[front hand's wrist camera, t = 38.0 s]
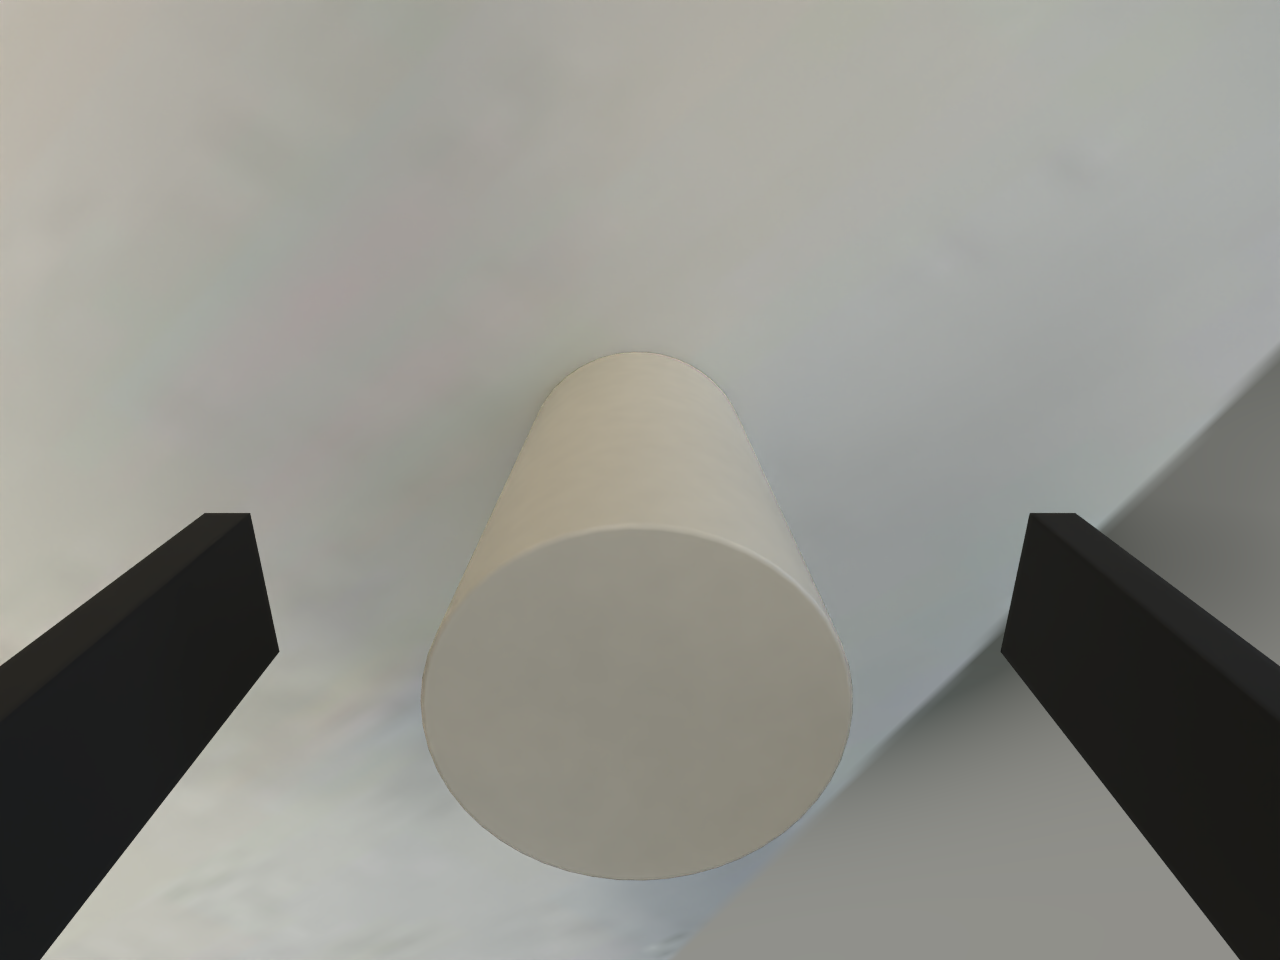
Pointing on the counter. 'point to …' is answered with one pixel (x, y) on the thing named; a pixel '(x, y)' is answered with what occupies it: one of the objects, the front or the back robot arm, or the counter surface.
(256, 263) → the counter surface
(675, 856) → the canister
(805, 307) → the counter surface
